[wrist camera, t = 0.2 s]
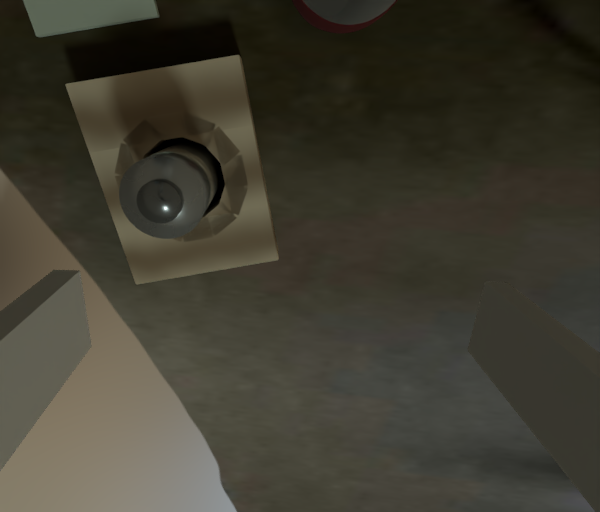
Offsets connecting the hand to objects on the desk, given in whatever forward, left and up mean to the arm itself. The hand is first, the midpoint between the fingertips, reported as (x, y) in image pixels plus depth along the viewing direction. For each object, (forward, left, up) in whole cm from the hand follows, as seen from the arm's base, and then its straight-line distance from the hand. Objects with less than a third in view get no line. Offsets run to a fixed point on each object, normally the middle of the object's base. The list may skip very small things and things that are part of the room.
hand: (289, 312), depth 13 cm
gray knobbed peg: (-1, -8, -27) cm, 28 cm away
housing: (-1, -8, -27) cm, 28 cm away
